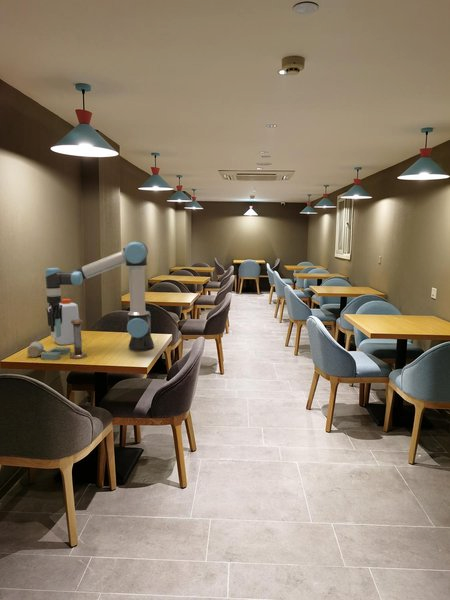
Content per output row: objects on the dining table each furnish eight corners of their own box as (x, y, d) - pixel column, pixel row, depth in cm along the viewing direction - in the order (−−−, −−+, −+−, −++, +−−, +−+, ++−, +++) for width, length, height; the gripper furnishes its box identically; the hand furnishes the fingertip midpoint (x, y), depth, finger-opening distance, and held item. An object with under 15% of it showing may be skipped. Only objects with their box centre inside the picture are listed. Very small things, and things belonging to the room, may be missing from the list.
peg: (61, 335, 264) (60, 318, 262) (57, 337, 260) (56, 320, 258) (54, 335, 264) (53, 318, 263) (51, 337, 260) (50, 319, 259)
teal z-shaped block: (70, 352, 271) (70, 347, 270) (56, 359, 255) (56, 354, 255) (56, 352, 272) (56, 347, 272) (41, 359, 257) (41, 354, 256)
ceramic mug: (27, 358, 259) (26, 344, 258) (30, 354, 267) (29, 341, 266) (47, 357, 261) (46, 344, 260) (49, 353, 269) (48, 341, 268)
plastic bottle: (59, 346, 286) (57, 301, 282) (52, 341, 298) (50, 299, 294) (83, 342, 295) (81, 299, 291) (76, 338, 307) (73, 297, 303)
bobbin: (89, 355, 265) (87, 319, 262) (82, 359, 257) (80, 322, 254) (74, 354, 267) (73, 318, 264) (67, 358, 258) (65, 321, 255)
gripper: (55, 293, 268) (57, 332, 271) (39, 297, 251) (41, 339, 254) (67, 293, 266) (69, 333, 270) (52, 297, 250) (54, 339, 253)
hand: (56, 336), depth 262 cm, fingers closed on peg, 4 cm apart
